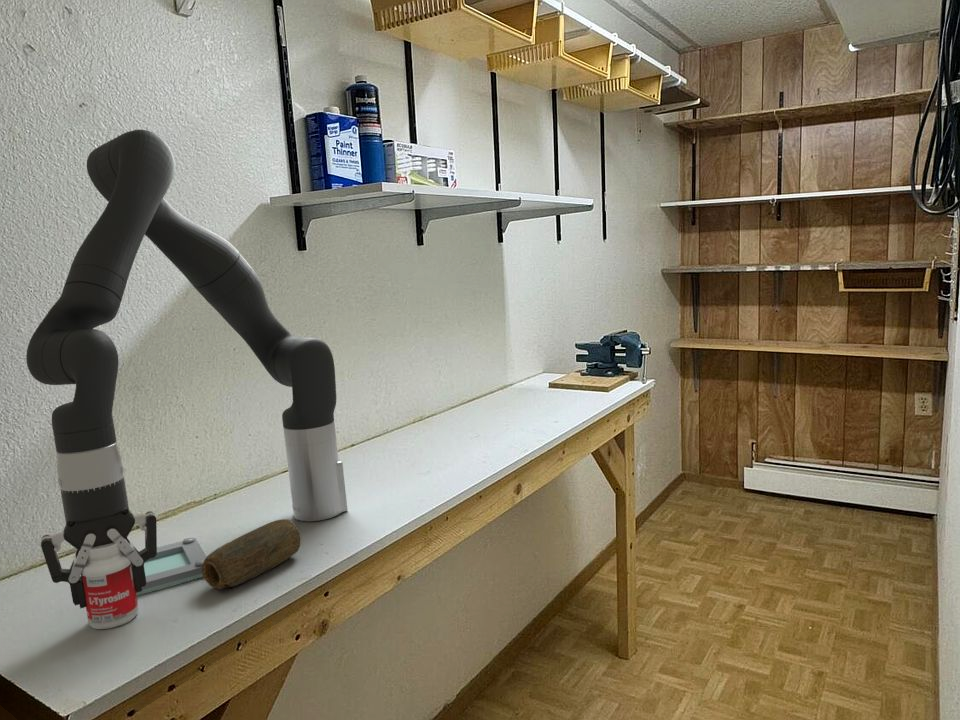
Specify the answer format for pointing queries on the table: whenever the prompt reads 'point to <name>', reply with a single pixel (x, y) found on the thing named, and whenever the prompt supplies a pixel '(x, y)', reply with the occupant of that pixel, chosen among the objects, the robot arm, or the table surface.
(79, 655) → the table surface
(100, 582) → the pill bottle
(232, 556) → the brown textured cylinder
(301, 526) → the table surface
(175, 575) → the base plate
